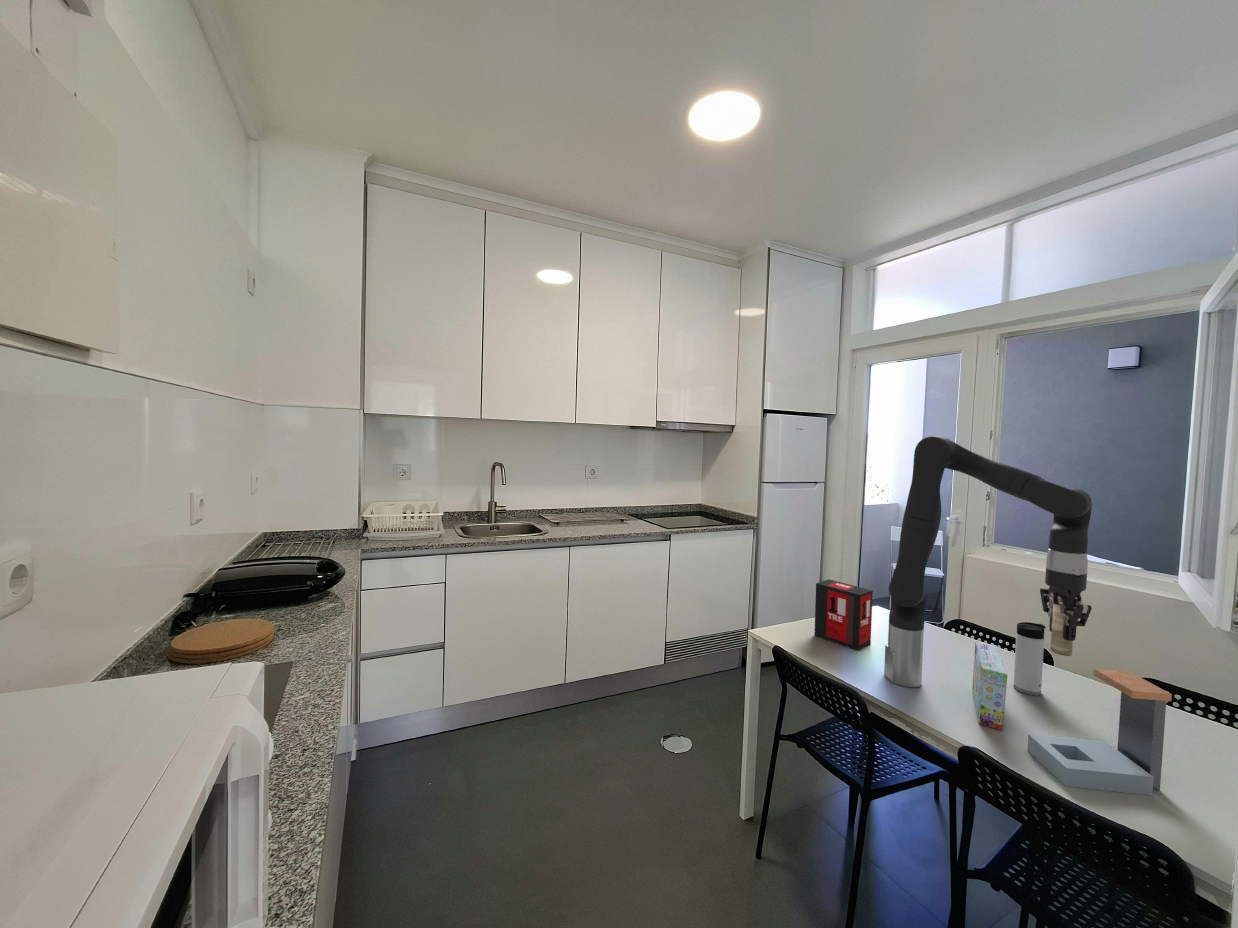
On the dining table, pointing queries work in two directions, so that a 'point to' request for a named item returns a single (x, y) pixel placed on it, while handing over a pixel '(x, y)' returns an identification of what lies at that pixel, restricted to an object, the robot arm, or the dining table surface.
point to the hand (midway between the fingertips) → (1061, 635)
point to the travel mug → (1029, 658)
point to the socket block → (1089, 764)
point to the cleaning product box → (843, 614)
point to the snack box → (989, 685)
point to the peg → (1059, 634)
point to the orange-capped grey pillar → (1139, 719)
